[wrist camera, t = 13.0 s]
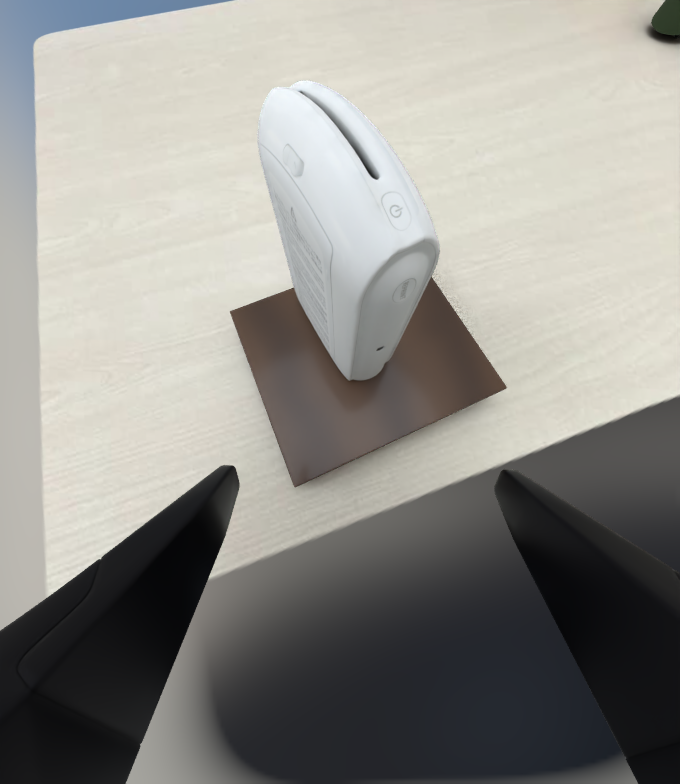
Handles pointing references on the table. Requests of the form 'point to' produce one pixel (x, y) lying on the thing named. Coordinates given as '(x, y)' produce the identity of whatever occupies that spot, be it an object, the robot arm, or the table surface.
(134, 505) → the table surface
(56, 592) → the robot arm
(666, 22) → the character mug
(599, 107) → the table surface
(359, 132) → the photo printer
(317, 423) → the walnut stand
